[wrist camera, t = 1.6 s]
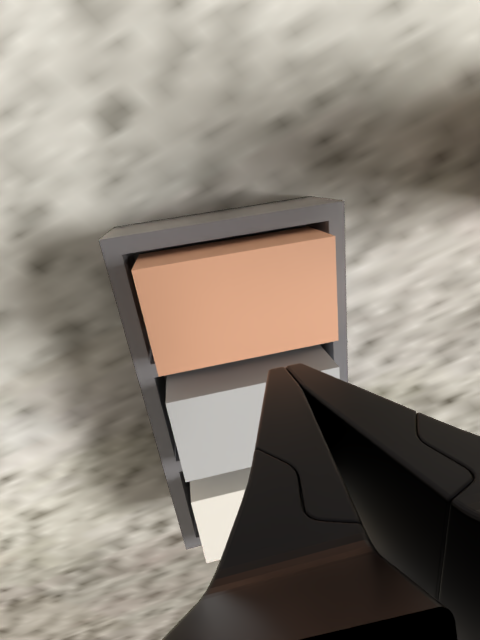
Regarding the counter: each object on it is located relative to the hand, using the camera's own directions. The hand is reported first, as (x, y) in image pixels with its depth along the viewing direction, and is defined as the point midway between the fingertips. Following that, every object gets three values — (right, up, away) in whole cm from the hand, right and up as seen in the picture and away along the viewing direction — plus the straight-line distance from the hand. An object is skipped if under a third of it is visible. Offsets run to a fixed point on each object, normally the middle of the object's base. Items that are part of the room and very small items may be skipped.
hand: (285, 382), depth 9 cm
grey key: (-1, -2, +10) cm, 10 cm away
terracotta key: (-1, +3, +8) cm, 8 cm away
